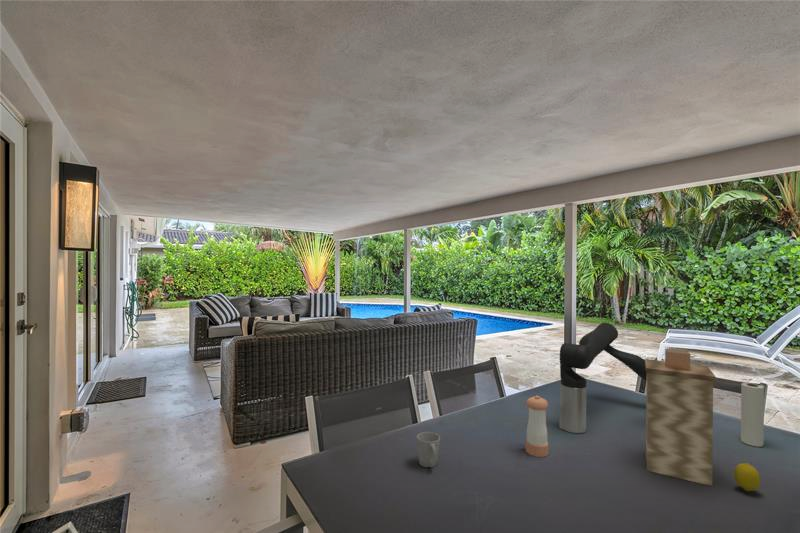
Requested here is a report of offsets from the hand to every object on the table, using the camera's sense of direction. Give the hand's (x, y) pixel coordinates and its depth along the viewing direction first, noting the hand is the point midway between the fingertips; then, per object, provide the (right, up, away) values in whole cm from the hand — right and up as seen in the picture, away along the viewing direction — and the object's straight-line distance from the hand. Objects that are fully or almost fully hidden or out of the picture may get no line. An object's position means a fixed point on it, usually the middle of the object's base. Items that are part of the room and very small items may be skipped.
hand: (669, 362), depth 147 cm
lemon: (-4, -28, -37) cm, 46 cm away
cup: (-94, -26, -25) cm, 100 cm away
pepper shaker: (-56, -27, -15) cm, 64 cm away
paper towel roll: (+26, -28, -6) cm, 39 cm away
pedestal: (-15, -27, -24) cm, 40 cm away
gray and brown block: (-10, +5, -17) cm, 21 cm away
